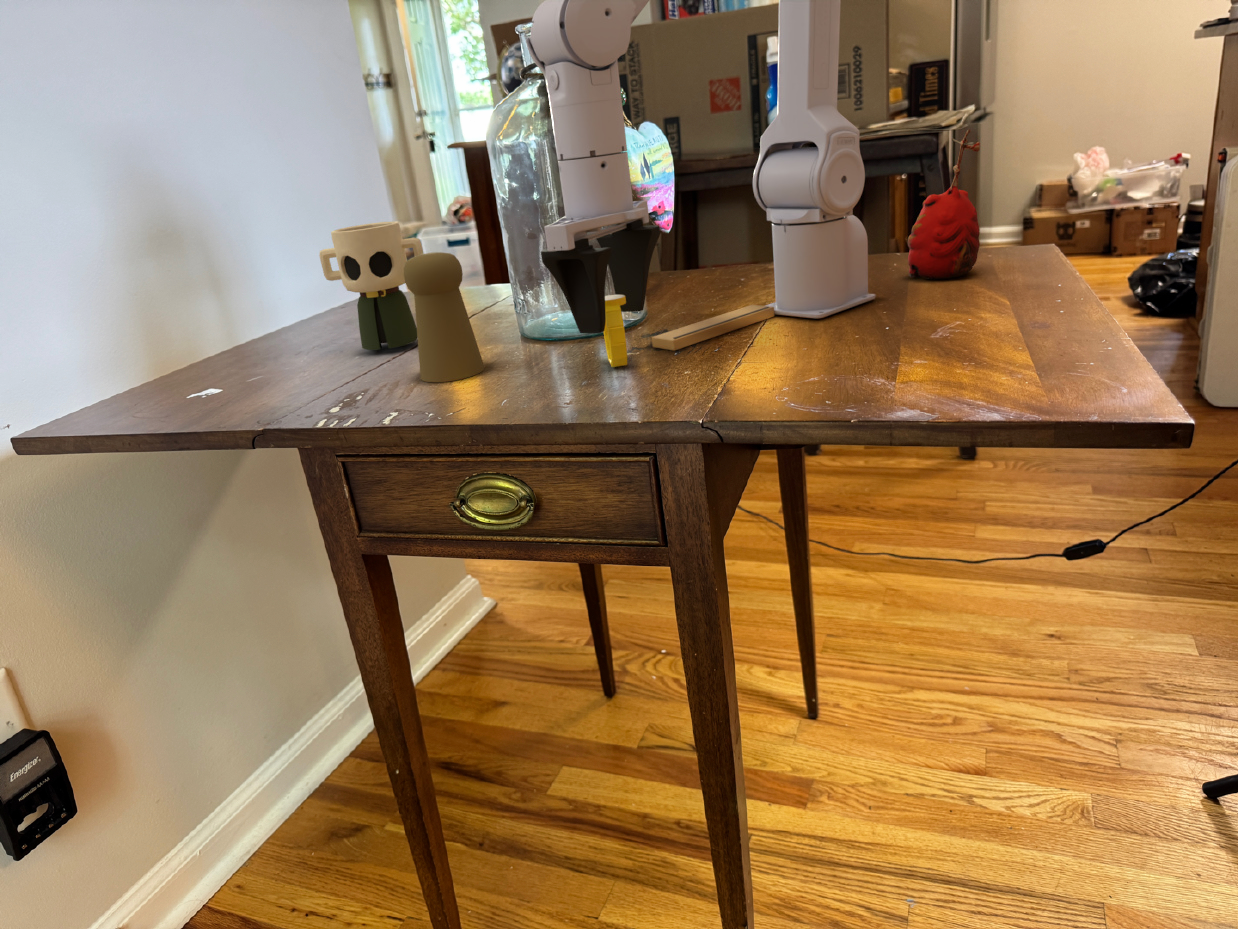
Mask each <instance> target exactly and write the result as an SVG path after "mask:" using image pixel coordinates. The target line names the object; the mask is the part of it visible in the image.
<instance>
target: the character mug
mask: <svg viewBox="0 0 1238 929" xmlns="http://www.w3.org/2000/svg"><path fill="white" fill-rule="evenodd" d="M330 234H331V240H332V244H333V247H331V248H323V249H321V250H319V255H318V256H319V260H320V264H321V269H322V272H323V276H324V278H325V279H326V280H327V281H330V282H333V281H341V282H342V285H343V286H344V288H345V289H346V291H348V292H351V293H359V296H358V300H357V304H356V307H357V318H358V329H359V330H358V331H359V335H360V343H361V348H362V349H363V350H367V351H379V350H381V349H383V344H387V348H388V349H394V348H399V347H407V345H409V344H412V343H414V342H416V340H418V337H417V324H416V320H415V318H414V316H413V313H412V310H411V308H410V304H409V301H408V298H407V295H406V294H405V293H404V292H403V290H401V289H400V286H402V285H404V284H405V285H406V283H405V279H404V266H405V263H406V262H407V261H408V258H407V253H406V249H412V250H413V255H414V257H416V256H418V255H421V254H424V249H423V245H422V241H421V240H420V238H419V237H418V238H417V237H410V238H408V237H407V238H403V235H402V230H401V225H400V223H399V221H380V222H379V221H378V222H371V223H365V224H360V225H359V224H358V225H352V226H347V227H343V228H338V229H335V230H332V231H331V232H330ZM333 258H336V261H337V265H338V269H339V270H333V269H332V268H333V267H332V264H331V263H332V262H331V259H333Z"/></svg>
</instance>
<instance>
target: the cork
mask: <svg viewBox="0 0 1238 929" xmlns="http://www.w3.org/2000/svg"><path fill="white" fill-rule="evenodd" d="M461 264H462V263H461V262H460V260H459V259H458V258H457V257H456V255H455V254H453V253H451V252H443V251H435V252H434V251H433V252H426V253H423V254H421V255H418V256H416V257H415V256H413V257H411V258H409V259H407V262H406V263H405V266H404V279H405V285H406V287H407V290H409V291H410V292H411V293H412V294H413V299H414V309H415V324H416V327H417V337H418V338H417V347H418V348H417V350H418V362H419V373H420V374H419V375H420V376H419V377H420V380H421V381H423V382H427V383H446V382H447V383H448V382H454V381H458V380H463V379H467V378H470V377H474V376H476V375H478V374H480V373H482V372H483V371H484V370H485V369H486V367H485V364H484V361H483V358H482V354H481V351H480V349H479V345H478V343H477V342H478V341H477V340H476V336H475V333H474V329H473V326H472V323H471V321H470V317H469V314H468V311H467V308H466V305H465V302H464V299H463V296H462V293H461V289H460V286H461V284H462V282H463V274H464V273H463V268H462V265H461Z"/></svg>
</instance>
